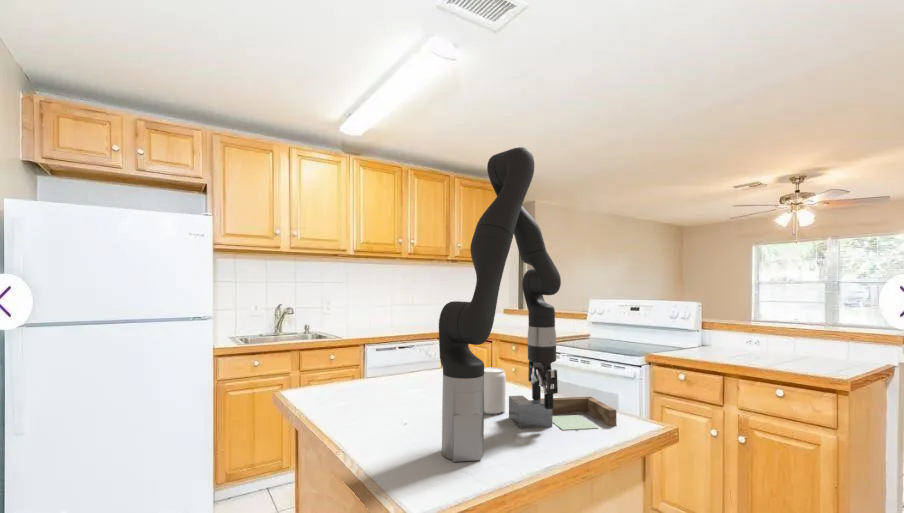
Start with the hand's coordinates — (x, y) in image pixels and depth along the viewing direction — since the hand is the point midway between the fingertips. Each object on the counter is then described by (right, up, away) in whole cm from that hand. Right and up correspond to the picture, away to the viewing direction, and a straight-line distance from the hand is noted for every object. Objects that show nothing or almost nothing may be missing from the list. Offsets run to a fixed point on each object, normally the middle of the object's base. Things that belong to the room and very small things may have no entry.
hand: (542, 404), depth 119 cm
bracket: (-3, -5, +1) cm, 6 cm away
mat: (+8, -6, +1) cm, 10 cm away
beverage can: (-13, -6, +11) cm, 18 cm away
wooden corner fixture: (+9, -6, +4) cm, 12 cm away
